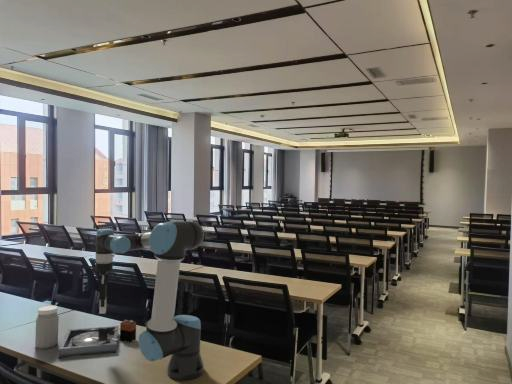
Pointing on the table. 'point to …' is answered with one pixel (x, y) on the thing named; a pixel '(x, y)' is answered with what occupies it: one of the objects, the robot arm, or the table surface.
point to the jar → (47, 327)
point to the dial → (92, 338)
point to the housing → (70, 351)
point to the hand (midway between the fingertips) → (102, 312)
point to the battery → (128, 331)
